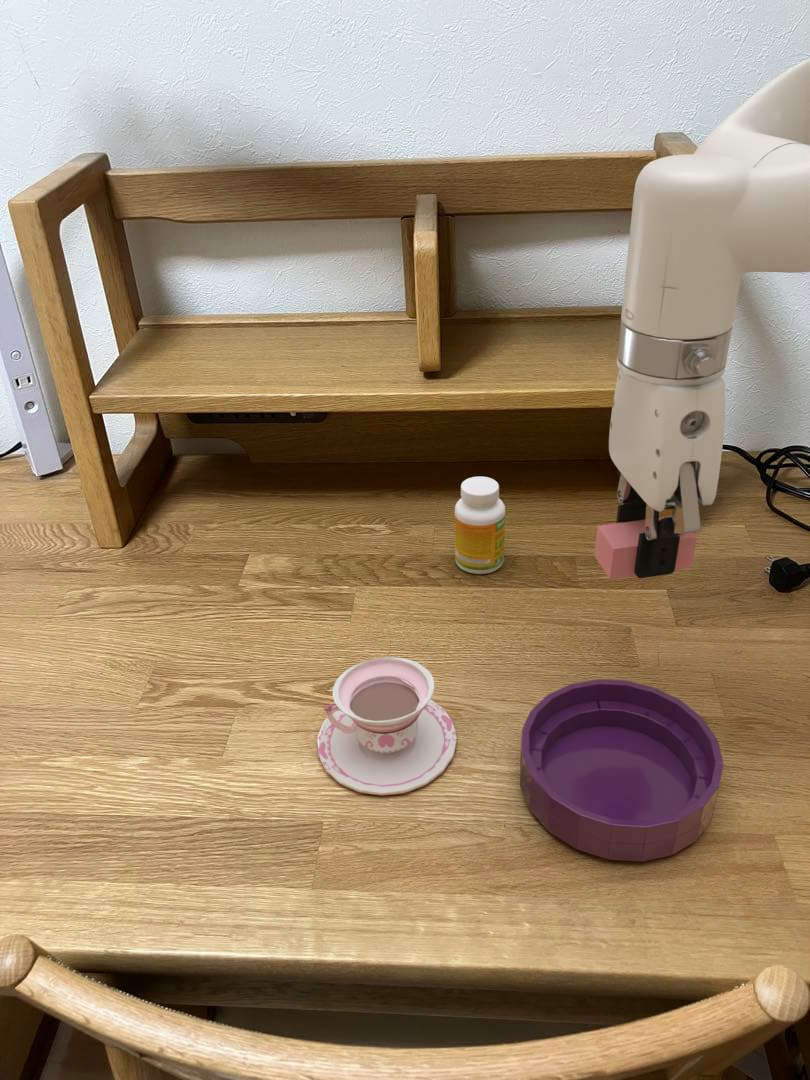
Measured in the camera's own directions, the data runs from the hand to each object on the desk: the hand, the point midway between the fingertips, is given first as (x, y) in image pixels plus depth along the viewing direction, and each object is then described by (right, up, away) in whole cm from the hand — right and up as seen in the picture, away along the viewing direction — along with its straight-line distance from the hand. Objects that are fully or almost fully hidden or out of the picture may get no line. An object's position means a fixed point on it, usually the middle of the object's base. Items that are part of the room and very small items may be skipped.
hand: (643, 557), depth 73 cm
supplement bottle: (-11, -1, +26) cm, 28 cm away
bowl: (-3, -18, -1) cm, 19 cm away
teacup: (-21, -16, +4) cm, 27 cm away
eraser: (0, 0, 0) cm, 0 cm away
